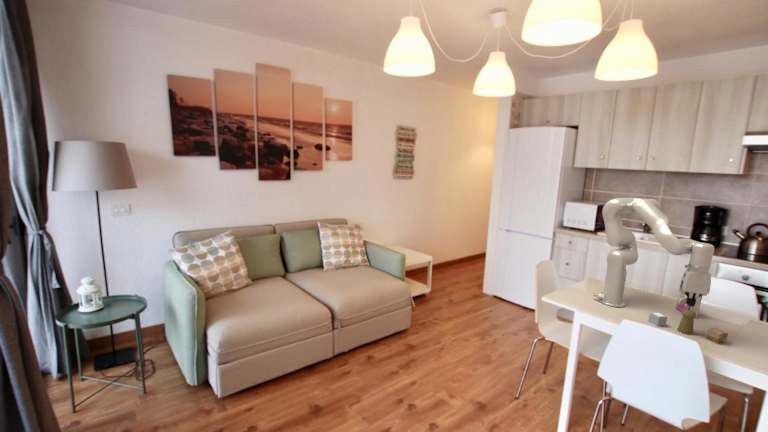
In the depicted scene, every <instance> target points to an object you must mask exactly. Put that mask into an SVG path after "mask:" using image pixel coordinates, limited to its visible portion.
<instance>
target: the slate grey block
mask: <svg viewBox="0 0 768 432" xmlns="http://www.w3.org/2000/svg"><path fill="white" fill-rule="evenodd" d="M647 321H648V323H650V324H651V323H653V324H655V325H656V326H655V325H654V326H655V327H657V326H658V327H666V326H667V322H668V316H667V315H665V314H663V313H660V312H655V311H654V312H649V316H648V320H647ZM653 324H652V325H653Z"/></svg>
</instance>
